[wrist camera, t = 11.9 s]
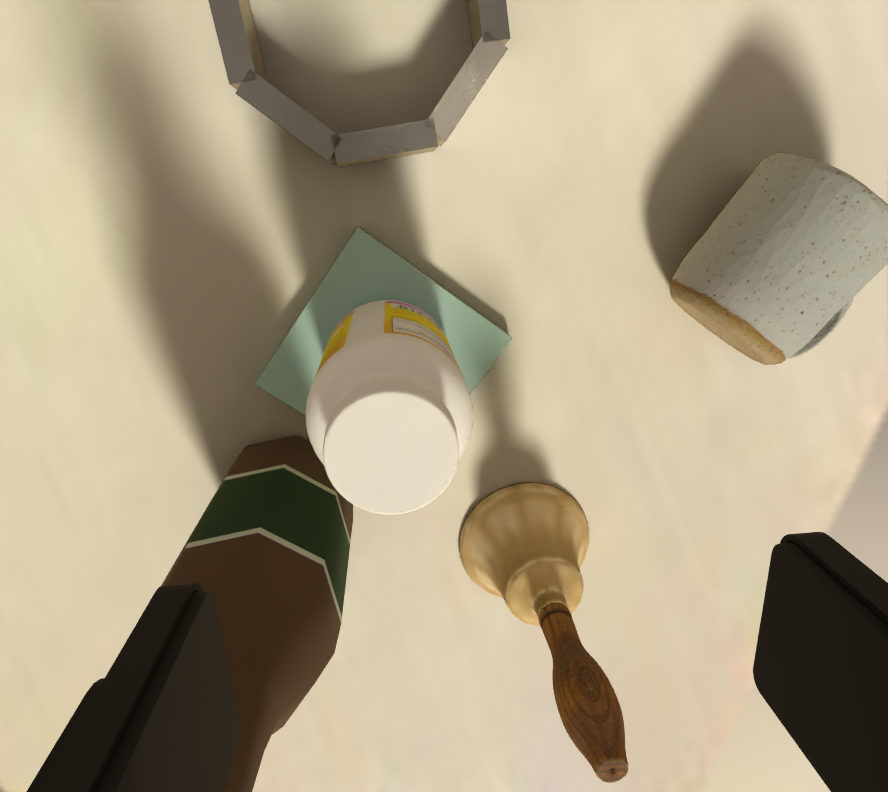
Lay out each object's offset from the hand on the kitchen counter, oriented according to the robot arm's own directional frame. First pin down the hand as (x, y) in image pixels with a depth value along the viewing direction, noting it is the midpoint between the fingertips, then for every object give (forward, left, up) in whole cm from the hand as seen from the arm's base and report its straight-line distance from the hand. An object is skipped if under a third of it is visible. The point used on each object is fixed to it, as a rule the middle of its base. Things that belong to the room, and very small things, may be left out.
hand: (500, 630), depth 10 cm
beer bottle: (+13, -1, -25) cm, 28 cm away
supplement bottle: (+2, -1, -24) cm, 24 cm away
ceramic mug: (-13, +13, -25) cm, 31 cm away
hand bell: (+8, +13, -25) cm, 29 cm away
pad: (+3, -1, -25) cm, 25 cm away
